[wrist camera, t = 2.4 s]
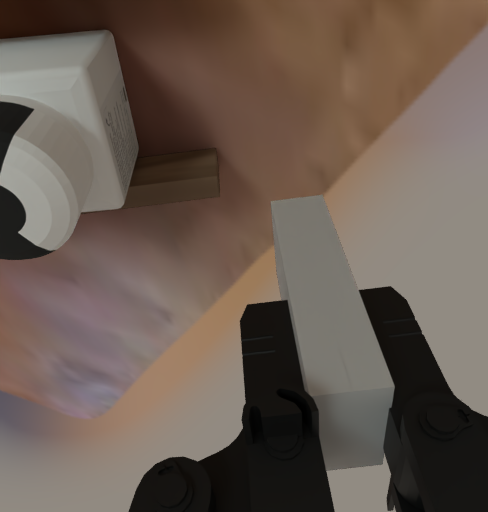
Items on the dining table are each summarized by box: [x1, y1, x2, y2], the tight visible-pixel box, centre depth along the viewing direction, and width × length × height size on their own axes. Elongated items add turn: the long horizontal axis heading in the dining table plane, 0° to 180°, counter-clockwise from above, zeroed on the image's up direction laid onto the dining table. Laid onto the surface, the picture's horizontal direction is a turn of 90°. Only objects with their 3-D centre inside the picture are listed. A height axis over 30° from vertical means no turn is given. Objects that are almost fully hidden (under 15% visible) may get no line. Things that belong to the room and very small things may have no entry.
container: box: [0, 30, 139, 260], centre depth 24 cm, size 8×8×13 cm
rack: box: [81, 148, 220, 214], centre depth 27 cm, size 14×15×4 cm
